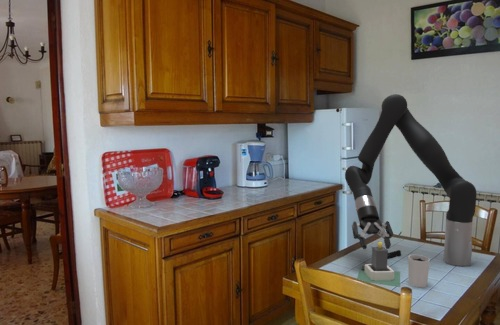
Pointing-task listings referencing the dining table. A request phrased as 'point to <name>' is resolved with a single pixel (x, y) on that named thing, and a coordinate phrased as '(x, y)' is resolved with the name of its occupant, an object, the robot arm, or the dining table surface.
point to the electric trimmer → (394, 254)
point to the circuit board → (392, 283)
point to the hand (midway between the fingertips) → (376, 248)
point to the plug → (379, 258)
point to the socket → (379, 274)
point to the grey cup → (418, 270)
